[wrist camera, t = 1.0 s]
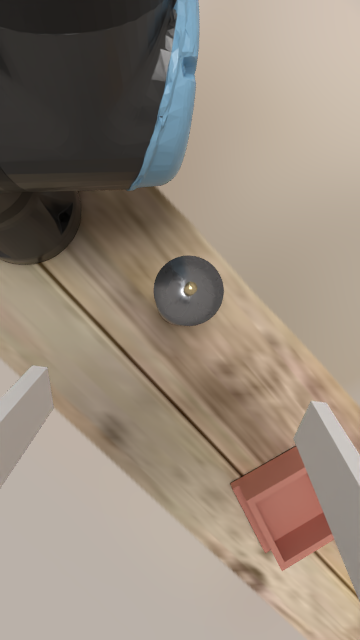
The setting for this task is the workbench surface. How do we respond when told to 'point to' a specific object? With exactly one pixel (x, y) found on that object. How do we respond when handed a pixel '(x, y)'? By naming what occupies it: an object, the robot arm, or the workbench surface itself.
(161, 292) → the motor housing
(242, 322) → the workbench surface
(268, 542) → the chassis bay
